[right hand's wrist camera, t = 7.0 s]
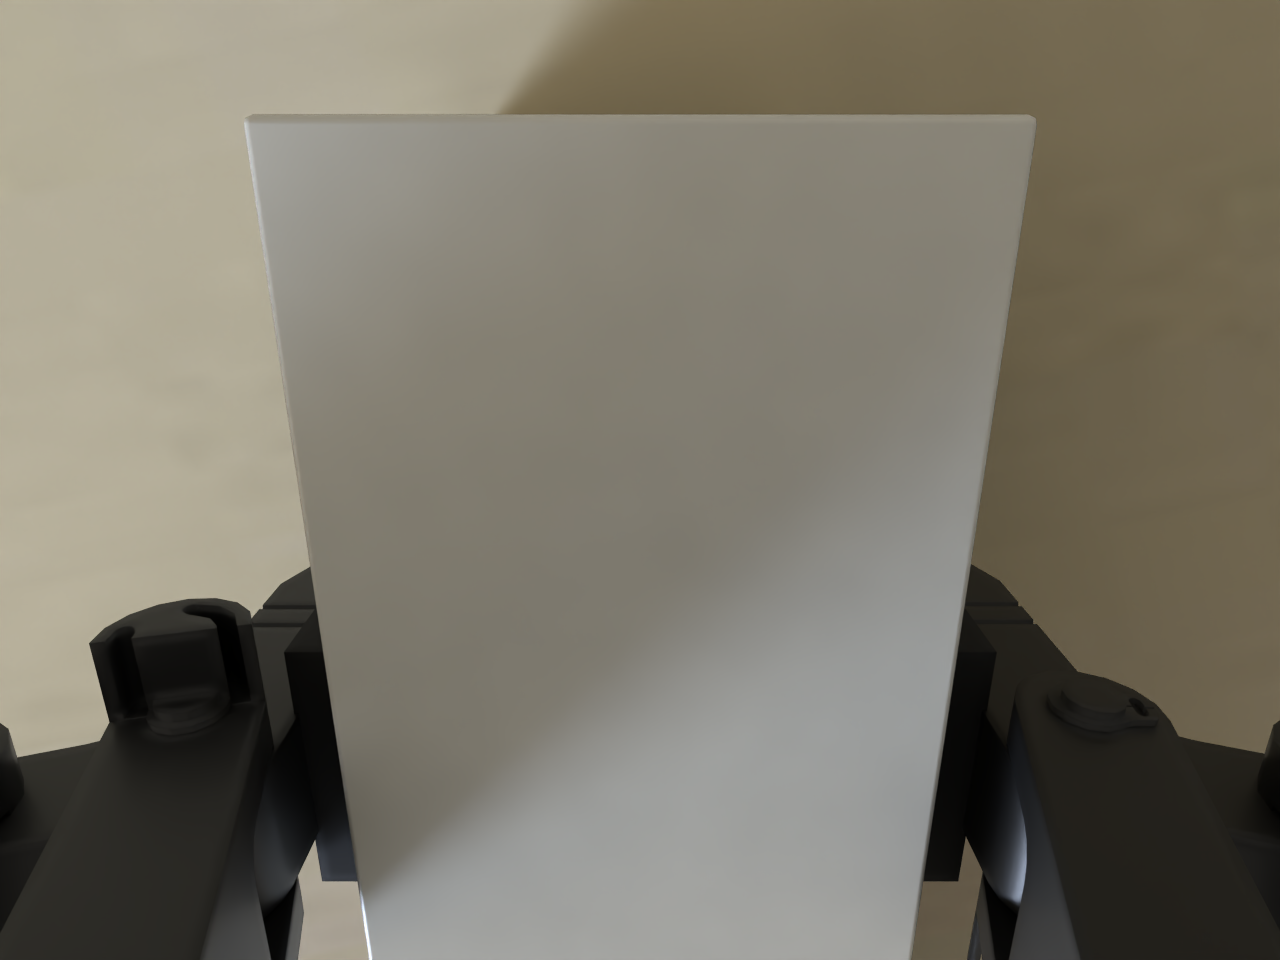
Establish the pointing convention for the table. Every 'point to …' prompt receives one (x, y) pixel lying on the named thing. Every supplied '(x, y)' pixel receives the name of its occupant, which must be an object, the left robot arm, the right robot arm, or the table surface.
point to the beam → (640, 510)
